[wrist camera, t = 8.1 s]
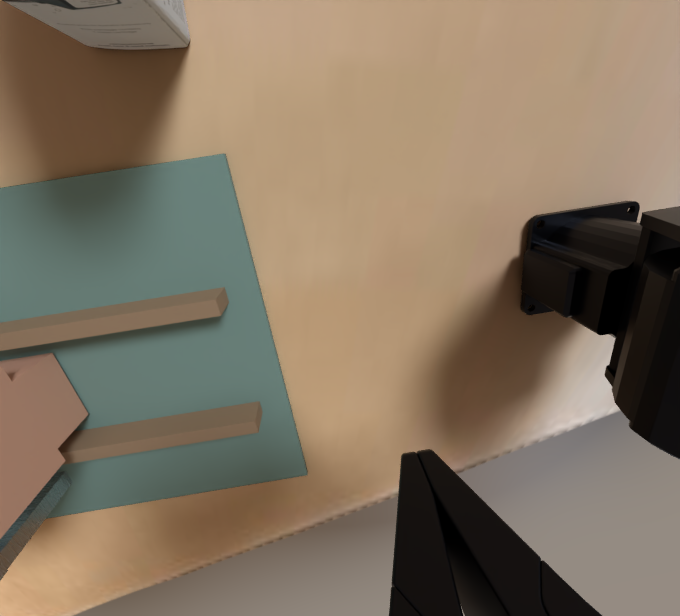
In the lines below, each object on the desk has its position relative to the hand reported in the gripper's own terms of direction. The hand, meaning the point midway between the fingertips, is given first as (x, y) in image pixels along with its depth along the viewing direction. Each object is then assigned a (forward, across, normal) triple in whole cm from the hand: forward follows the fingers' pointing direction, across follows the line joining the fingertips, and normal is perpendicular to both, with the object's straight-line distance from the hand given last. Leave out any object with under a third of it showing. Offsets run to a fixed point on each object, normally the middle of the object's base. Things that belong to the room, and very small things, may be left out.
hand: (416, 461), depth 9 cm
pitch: (+13, +20, +3) cm, 24 cm away
